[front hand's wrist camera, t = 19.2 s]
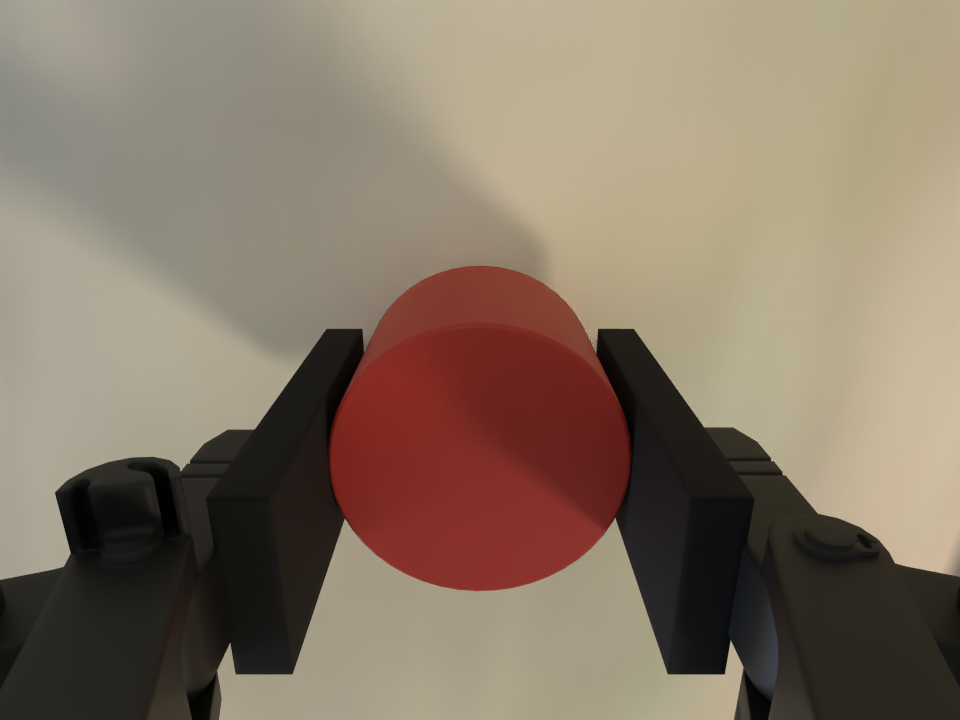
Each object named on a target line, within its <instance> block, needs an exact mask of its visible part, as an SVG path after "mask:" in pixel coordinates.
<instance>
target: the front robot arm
mask: <svg viewBox="0 0 960 720" xmlns="http://www.w3.org/2000/svg"><path fill="white" fill-rule="evenodd" d="M363 355H364V347H363V332H362V329H326V331H325V332H324V333H323V335H322V336H321V338H320V339H319V340H318V342H317V343H316V345H315V346H314V347H313V349H312V350H311V352H310V353H309V354H308V356H307V357H306V359H305V360H304V361H303V363H302V364H301V366H300V367H299V369H298V370H297V371H296V373H295V374H294V376H293V377H292V378H291V380H290V381H289V383H288V384H287V385H286V387H285V388H284V390H283V391H282V392H281V394H280V395H279V397H278V398H277V399H276V401H275V402H274V404H273V405H272V406H271V408H270V409H269V411H268V412H267V413H266V415H265V416H264V418H263V419H262V420H261V422H260V423H259V425H258V426H257V427H256V429H255V430H227V431H225V432H223V433H222V434H220V435H218V436H217V437H215V438H213V439H211V440H210V441H208V442H206V443H205V444H204V445H203V446H202V447H201V448H200V449H199V451H198V452H197V453H196V454H195V455H194V456H193V458H192V459H191V460H190V464H187V465H186V466H185V467H184V468H183V470H182V471H181V472H180V467H178V466H177V465H176V464H174V463H173V462H171V461H170V460H166V459H161V458H156V457H137V458H128V459H122V460H117V461H112V462H108V463H105V464H102V465H99V466H96V467H93V468H91V469H88V470H85V471H84V472H82V473H80V474H78V475H76V476H75V477H73V478H71V479H69V480H67V481H66V482H65V483H64V484H63V485H62V486H61V487H60V488H59V489H58V490H57V491H56V492H55V495H56V498H57V502H58V506H59V510H60V514H61V517H62V521H63V525H64V529H65V533H66V536H67V540H68V544H69V548H70V551H71V554H70V556H69V558H68V560H67V562H66V564H65V566H64V567H62V568H58V569H54V570H50V571H45V572H39V573H34V574H29V575H24V576H19V577H14V578H8V579H3V580H0V720H219V714H220V707H221V692H220V685H219V679H218V674H217V669H218V667H219V665H220V663H221V661H222V659H223V656H224V654H225V652H226V650H227V648H228V646H229V644H230V643H231V649H232V655H233V661H234V666H235V672H236V674H293V671H294V668H295V666H296V663H297V660H298V657H299V654H300V651H301V648H302V645H303V642H304V639H305V636H306V633H307V630H308V627H309V624H310V621H311V618H312V615H313V612H314V609H315V606H316V603H317V600H318V597H319V594H320V591H321V588H322V585H323V582H324V579H325V576H326V573H327V570H328V567H329V564H330V561H331V558H332V555H333V552H334V549H335V546H336V543H337V540H338V537H339V534H340V531H341V528H342V525H343V522H344V519H345V517H344V516H343V514H342V511H341V509H340V507H339V505H338V503H337V500H336V498H335V495H334V492H333V488H332V485H331V481H330V473H329V463H328V444H329V437H330V431H331V427H332V423H333V420H334V417H335V414H336V411H337V409H338V407H339V405H340V403H341V401H342V399H343V396H344V394H345V392H346V390H347V388H348V386H349V384H350V382H351V380H352V378H353V376H354V374H355V371H356V369H357V367H358V365H359V363H360V361H361V359H362V357H363ZM596 355H597V357H598V359H599V361H600V363H601V365H602V367H603V369H604V371H605V373H606V376H607V378H608V380H609V382H610V384H611V386H612V388H613V390H614V392H615V394H616V396H617V398H618V401H619V403H620V405H621V408H622V410H623V412H624V415H625V417H626V421H627V424H628V428H629V432H630V438H631V447H632V463H631V474H630V479H629V484H628V488H627V491H626V494H625V497H624V500H623V503H622V505H621V507H620V509H619V511H618V513H617V515H616V517H615V518H616V521H617V524H618V527H619V530H620V533H621V536H622V539H623V542H624V545H625V548H626V550H627V553H628V556H629V559H630V562H631V565H632V568H633V571H634V574H635V577H636V580H637V583H638V586H639V589H640V592H641V595H642V598H643V601H644V604H645V607H646V610H647V613H648V616H649V619H650V622H651V625H652V628H653V631H654V634H655V637H656V640H657V643H658V646H659V649H660V652H661V655H662V658H663V661H664V664H665V667H666V670H667V673H668V674H725V669H726V664H727V658H728V652H729V646H730V640H731V641H732V643H733V646H734V648H735V650H736V652H737V654H738V656H739V658H740V660H741V662H742V664H743V667H744V668H743V674H742V679H741V685H740V690H739V696H738V701H737V707H736V712H735V717H734V720H960V577H957V576H952V575H947V574H942V573H937V572H931V571H926V570H921V569H916V568H911V567H906V566H902V565H898V564H895V563H894V561H893V559H892V557H891V555H890V553H889V552H888V551H887V549H886V548H885V547H884V546H883V545H882V543H881V542H880V541H879V540H878V539H877V538H875V537H874V536H872V535H871V534H869V533H868V532H866V531H865V530H863V529H862V528H860V527H858V526H855V525H853V524H851V523H848V522H846V521H843V520H841V519H838V518H834V517H830V516H825V515H821V514H818V513H817V512H816V511H815V510H814V509H813V508H812V506H811V505H810V504H809V503H808V502H807V500H806V499H805V498H804V497H803V496H802V495H801V493H800V492H799V491H798V490H797V489H796V487H795V486H794V485H793V484H792V483H791V481H790V480H789V479H788V478H787V477H786V476H783V474H782V471H781V470H780V468H779V467H778V466H777V465H776V464H775V463H774V461H771V458H770V457H769V455H768V454H767V453H766V452H765V451H764V450H763V448H762V447H761V446H760V445H759V444H758V442H757V441H755V440H753V439H751V438H750V437H748V436H746V435H745V434H743V433H741V432H740V431H738V430H736V429H734V428H704V427H703V425H702V424H701V422H700V421H699V420H698V418H697V417H696V415H695V414H694V413H693V411H692V410H691V408H690V407H689V406H688V404H687V403H686V401H685V400H684V399H683V397H682V396H681V394H680V393H679V392H678V390H677V389H676V387H675V386H674V385H673V383H672V382H671V380H670V379H669V378H668V376H667V375H666V373H665V372H664V371H663V369H662V368H661V366H660V365H659V364H658V362H657V361H656V359H655V358H654V357H653V355H652V354H651V352H650V351H649V350H648V348H647V347H646V345H645V344H644V343H643V341H642V340H641V338H640V337H639V336H638V334H637V333H636V331H635V330H634V329H598V339H597V354H596Z"/></svg>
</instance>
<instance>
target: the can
mask: <svg viewBox="0 0 960 720" xmlns="http://www.w3.org/2000/svg"><path fill="white" fill-rule="evenodd" d="M328 463H329V473H330V481H331V485H332V488H333V492H334V495H335V498H336V500H337V503H338V505H339V507H340V509H341V511H342V514H343V516H344V517H345V519H346V520H347V522H348V524H349V525H350V527H351V528H352V530H353V531H354V532H355V533H356V535H357V536H358V537H359V538H360V539H361V541H362V542H363V543H364V544H365V545H366V546H367V547H368V548H369V549H370V550H372V551H373V552H374V553H375V554H376V555H377V556H378V557H380V558H381V559H383V560H384V561H385V562H387V563H388V564H389V565H391V566H393V567H394V568H396V569H398V570H400V571H402V572H403V573H405V574H407V575H409V576H412V577H414V578H417V579H419V580H421V581H424V582H427V583H431V584H434V585H438V586H441V587H447V588H452V589H458V590H471V591H489V590H501V589H508V588H514V587H518V586H522V585H526V584H530V583H533V582H535V581H538V580H541V579H543V578H546V577H548V576H550V575H552V574H554V573H556V572H558V571H560V570H562V569H564V568H566V567H567V566H569V565H570V564H572V563H573V562H575V561H576V560H578V559H579V558H580V557H581V556H582V555H584V554H585V553H586V552H587V551H588V550H590V549H591V548H592V547H593V546H594V545H595V544H596V542H597V541H598V540H599V539H600V538H601V537H602V536H603V535H604V533H605V532H606V531H607V529H608V528H609V526H610V525H611V523H612V522H613V521H614V519H615V517H616V515H617V513H618V511H619V509H620V507H621V505H622V503H623V500H624V497H625V494H626V491H627V488H628V484H629V479H630V474H631V463H632V447H631V438H630V432H629V428H628V424H627V421H626V417H625V415H624V412H623V410H622V408H621V405H620V403H619V401H618V398H617V396H616V394H615V392H614V390H613V388H612V386H611V384H610V382H609V380H608V378H607V376H606V373H605V371H604V369H603V367H602V365H601V363H600V361H599V359H598V357H597V355H596V353H595V351H594V348H593V346H592V344H591V342H590V340H589V338H588V336H587V334H586V332H585V330H584V328H583V326H582V324H581V322H580V321H579V319H578V317H577V316H576V314H575V313H574V312H573V310H572V309H571V308H570V307H569V305H568V304H567V303H566V302H565V301H564V300H563V299H562V298H561V297H560V296H559V295H558V294H557V293H555V292H554V291H553V290H551V289H550V288H549V287H547V286H546V285H544V284H543V283H541V282H539V281H537V280H535V279H533V278H531V277H530V276H527V275H524V274H522V273H519V272H516V271H513V270H509V269H504V268H499V267H489V266H469V267H462V268H456V269H451V270H447V271H444V272H441V273H438V274H435V275H433V276H431V277H429V278H426V279H424V280H422V281H421V282H419V283H417V284H416V285H414V286H413V287H411V288H410V289H408V290H407V291H406V292H405V293H404V294H402V295H401V296H400V297H399V298H398V299H397V300H396V301H395V302H394V303H393V304H392V305H391V306H390V308H389V309H388V310H387V311H386V313H385V314H384V316H383V317H382V319H381V320H380V322H379V324H378V326H377V328H376V330H375V332H374V334H373V336H372V338H371V340H370V342H369V344H368V347H367V349H366V351H365V353H364V355H363V357H362V359H361V361H360V363H359V365H358V367H357V369H356V371H355V374H354V376H353V378H352V380H351V382H350V384H349V386H348V388H347V390H346V392H345V394H344V396H343V399H342V401H341V403H340V405H339V407H338V409H337V411H336V414H335V417H334V420H333V423H332V427H331V431H330V437H329V444H328Z"/></svg>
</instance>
